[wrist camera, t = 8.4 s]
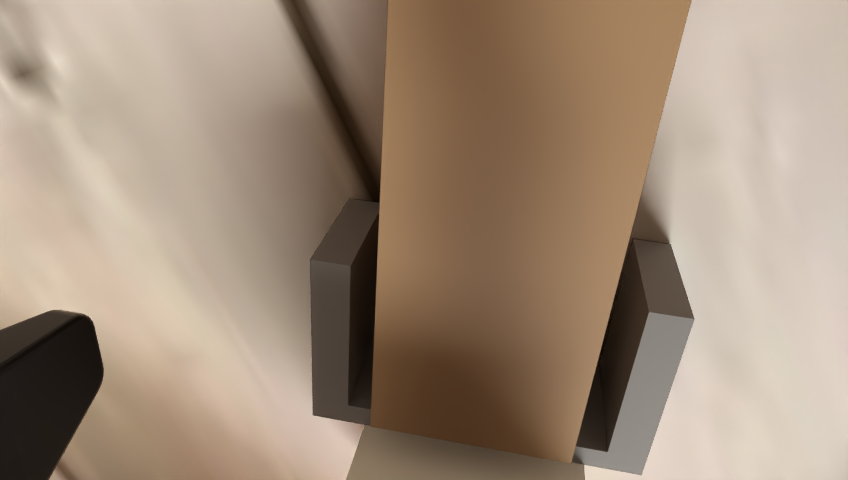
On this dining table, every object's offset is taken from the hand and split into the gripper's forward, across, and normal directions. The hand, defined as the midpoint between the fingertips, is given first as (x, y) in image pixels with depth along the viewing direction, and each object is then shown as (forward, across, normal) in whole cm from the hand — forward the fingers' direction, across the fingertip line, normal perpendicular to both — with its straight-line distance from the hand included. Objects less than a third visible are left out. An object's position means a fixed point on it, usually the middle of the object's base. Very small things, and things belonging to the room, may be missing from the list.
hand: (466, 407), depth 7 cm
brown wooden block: (+11, 0, 0) cm, 11 cm away
